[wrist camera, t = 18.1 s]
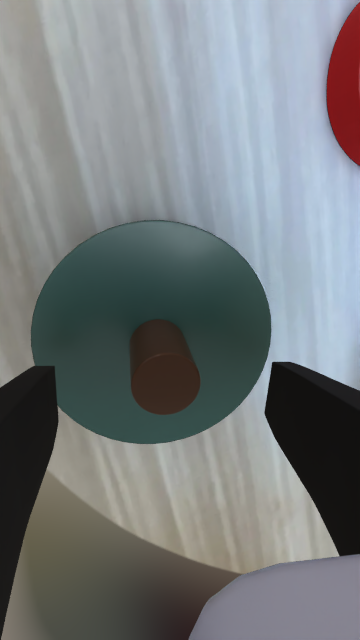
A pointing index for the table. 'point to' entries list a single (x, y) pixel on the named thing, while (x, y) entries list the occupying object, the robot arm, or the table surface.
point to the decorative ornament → (346, 86)
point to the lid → (152, 331)
